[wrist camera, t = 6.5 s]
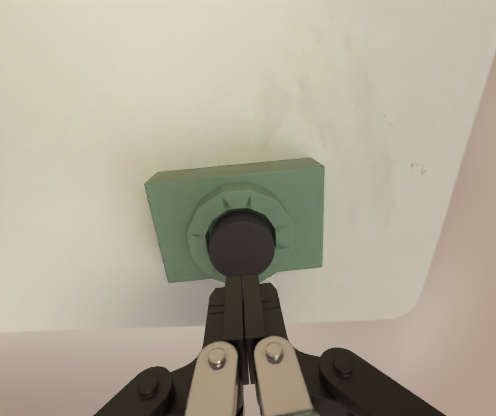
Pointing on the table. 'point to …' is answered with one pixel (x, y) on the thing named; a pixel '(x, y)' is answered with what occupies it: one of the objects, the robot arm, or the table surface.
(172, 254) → the green push button box
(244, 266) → the black button
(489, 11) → the table surface
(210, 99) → the table surface
